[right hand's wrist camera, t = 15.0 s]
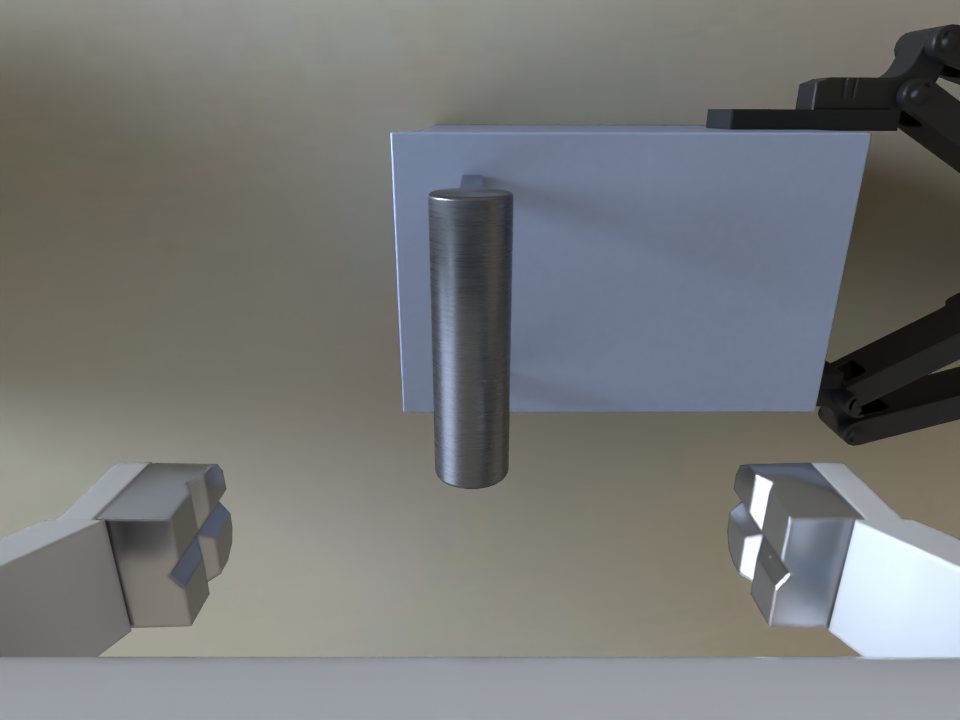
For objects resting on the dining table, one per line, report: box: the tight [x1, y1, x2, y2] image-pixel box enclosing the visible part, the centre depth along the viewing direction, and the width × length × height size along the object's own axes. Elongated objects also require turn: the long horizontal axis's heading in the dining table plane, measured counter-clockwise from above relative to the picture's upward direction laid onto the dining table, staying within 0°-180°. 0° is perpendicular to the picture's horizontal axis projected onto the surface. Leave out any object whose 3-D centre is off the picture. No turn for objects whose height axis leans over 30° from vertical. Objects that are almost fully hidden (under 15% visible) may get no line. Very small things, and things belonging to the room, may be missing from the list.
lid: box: [391, 132, 871, 489], centre depth 20 cm, size 16×10×8 cm, turn 90°
